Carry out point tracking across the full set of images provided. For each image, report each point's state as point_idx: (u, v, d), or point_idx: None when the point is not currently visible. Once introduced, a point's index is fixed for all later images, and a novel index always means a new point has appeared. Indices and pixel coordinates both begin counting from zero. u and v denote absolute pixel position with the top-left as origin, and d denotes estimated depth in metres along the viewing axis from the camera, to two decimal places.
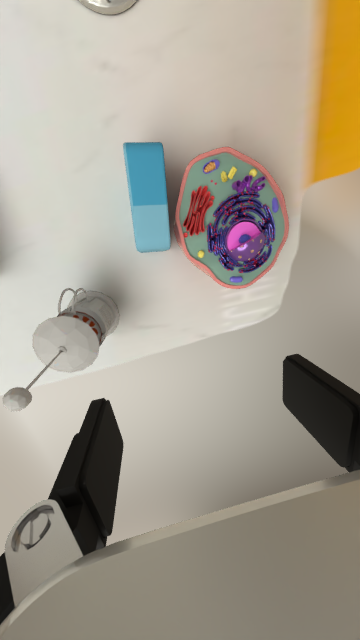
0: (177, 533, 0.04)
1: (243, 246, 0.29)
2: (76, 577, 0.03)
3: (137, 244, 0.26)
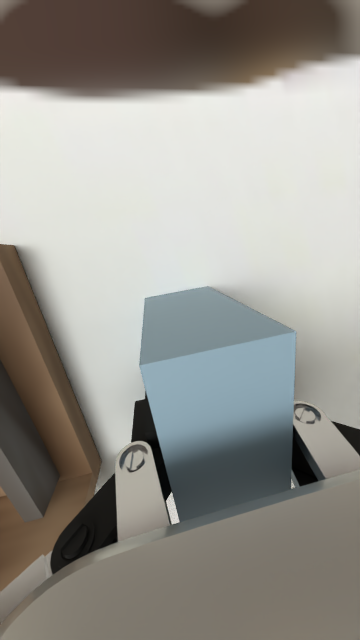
0: (177, 533, 0.04)
1: None
2: (76, 577, 0.03)
3: None
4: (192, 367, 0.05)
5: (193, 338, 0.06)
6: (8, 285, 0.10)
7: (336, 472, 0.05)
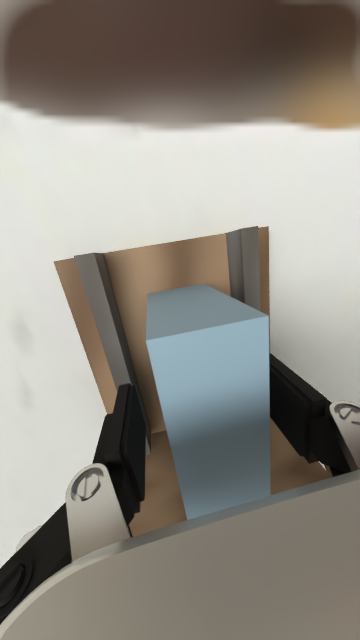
0: (177, 533, 0.04)
1: None
2: (76, 577, 0.03)
3: None
4: (187, 343, 0.06)
5: (188, 322, 0.07)
6: (266, 255, 0.14)
7: None
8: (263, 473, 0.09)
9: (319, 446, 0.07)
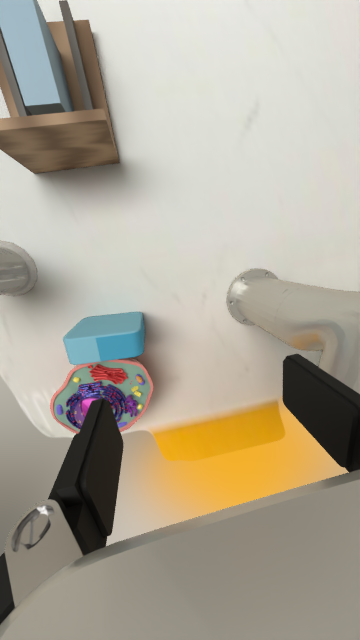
0: (177, 533, 0.04)
1: (82, 415, 0.35)
2: (76, 577, 0.03)
3: (65, 340, 0.30)
4: None
5: None
6: (91, 39, 0.28)
7: None
8: (49, 72, 0.23)
9: None
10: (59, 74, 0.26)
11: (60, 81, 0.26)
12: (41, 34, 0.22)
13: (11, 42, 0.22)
